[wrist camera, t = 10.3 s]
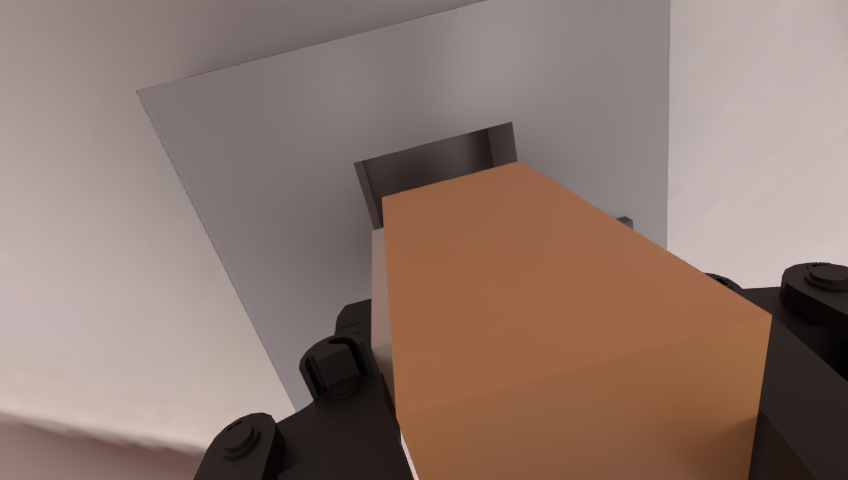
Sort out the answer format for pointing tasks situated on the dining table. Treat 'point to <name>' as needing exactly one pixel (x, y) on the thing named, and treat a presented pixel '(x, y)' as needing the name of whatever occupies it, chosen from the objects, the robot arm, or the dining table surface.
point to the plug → (560, 340)
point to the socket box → (409, 140)
